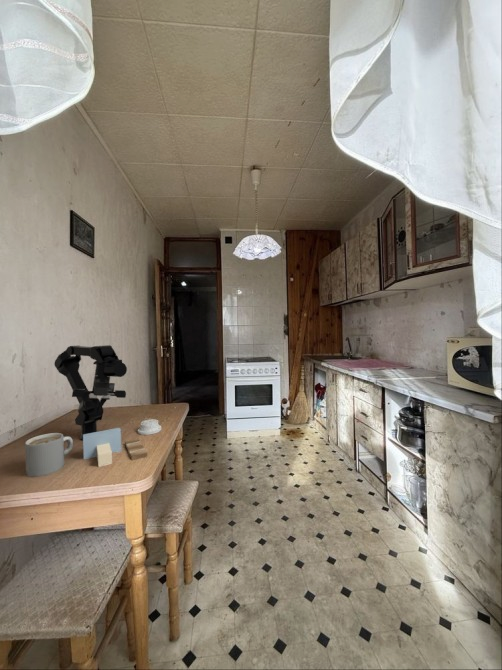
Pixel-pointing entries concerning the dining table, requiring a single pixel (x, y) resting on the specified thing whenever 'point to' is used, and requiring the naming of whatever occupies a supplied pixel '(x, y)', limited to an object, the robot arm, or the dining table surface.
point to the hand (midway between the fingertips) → (96, 415)
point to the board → (135, 449)
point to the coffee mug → (46, 454)
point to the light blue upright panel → (102, 445)
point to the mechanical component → (149, 427)
